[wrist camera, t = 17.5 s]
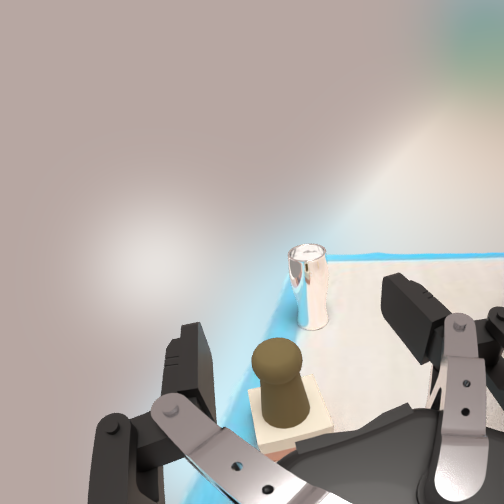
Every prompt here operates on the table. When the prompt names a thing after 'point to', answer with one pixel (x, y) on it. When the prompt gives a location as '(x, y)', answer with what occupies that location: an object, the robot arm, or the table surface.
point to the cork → (281, 383)
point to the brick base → (283, 440)
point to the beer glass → (309, 284)
